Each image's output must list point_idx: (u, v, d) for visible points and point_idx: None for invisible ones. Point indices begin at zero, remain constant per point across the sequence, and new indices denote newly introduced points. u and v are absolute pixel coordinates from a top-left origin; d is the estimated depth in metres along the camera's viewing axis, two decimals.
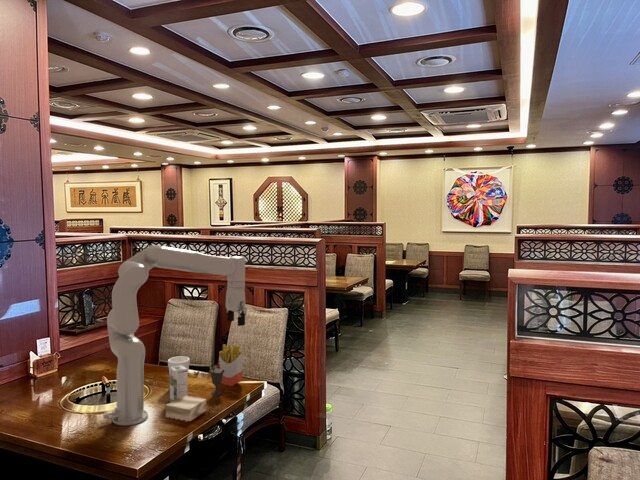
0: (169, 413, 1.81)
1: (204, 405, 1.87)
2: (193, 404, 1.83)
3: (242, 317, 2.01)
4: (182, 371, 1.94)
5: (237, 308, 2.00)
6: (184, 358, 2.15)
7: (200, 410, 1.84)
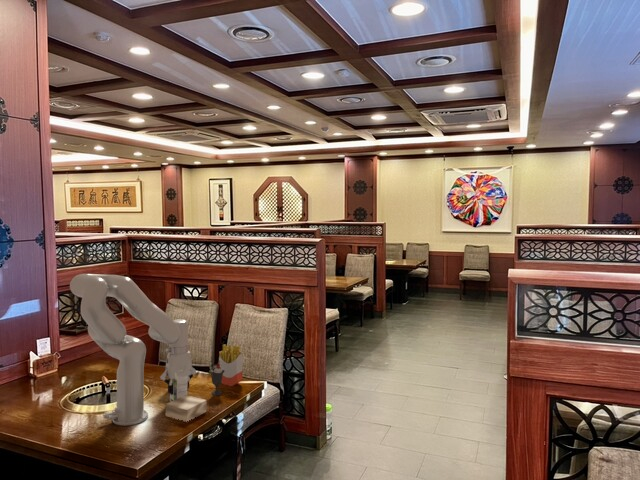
0: (169, 412, 1.82)
1: (204, 406, 1.86)
2: (193, 404, 1.82)
3: None
4: None
5: None
6: None
7: (199, 410, 1.84)
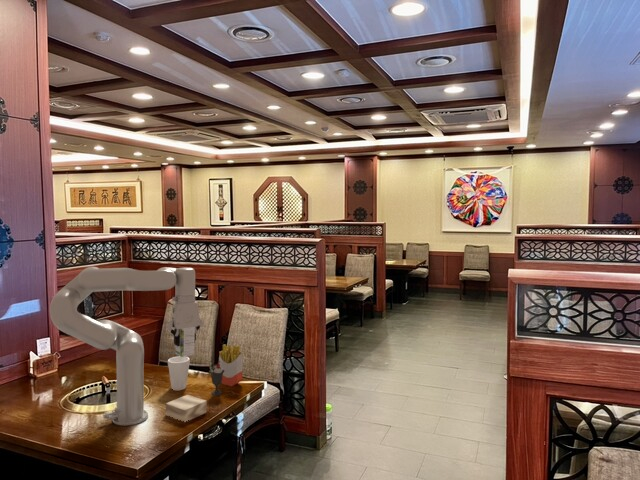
0: (169, 411, 1.82)
1: (204, 407, 1.85)
2: (192, 404, 1.82)
3: None
4: None
5: None
6: (184, 358, 2.15)
7: (198, 411, 1.83)
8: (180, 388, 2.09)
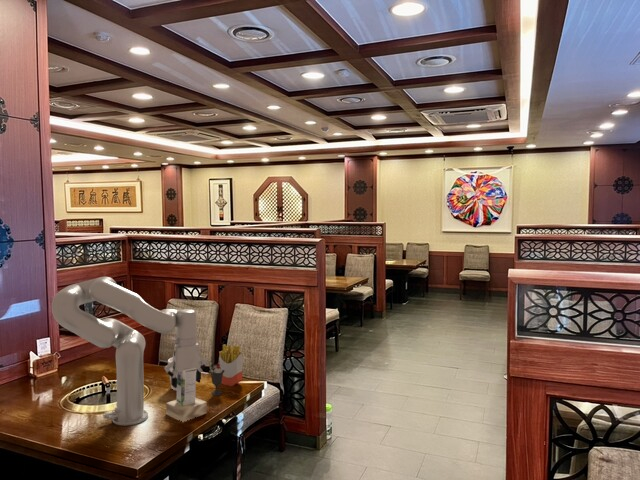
0: (169, 411, 1.83)
1: (204, 408, 1.85)
2: (191, 405, 1.82)
3: None
4: (190, 370, 1.82)
5: None
6: None
7: (198, 412, 1.82)
8: None
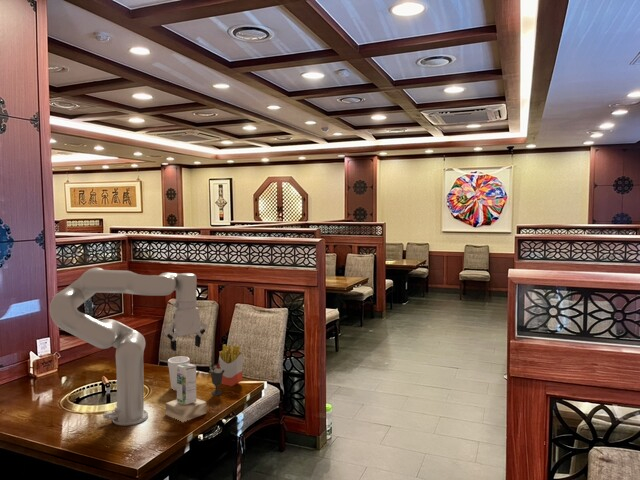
0: (168, 411, 1.83)
1: (203, 408, 1.85)
2: (191, 405, 1.82)
3: None
4: (190, 367, 1.83)
5: None
6: (184, 358, 2.15)
7: (197, 412, 1.83)
8: None
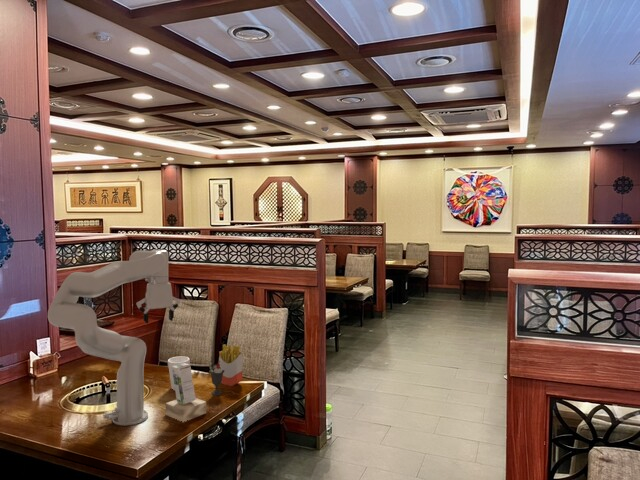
0: (168, 411, 1.82)
1: (203, 407, 1.85)
2: (191, 405, 1.82)
3: None
4: (184, 367, 1.82)
5: None
6: (184, 358, 2.15)
7: (197, 412, 1.83)
8: None
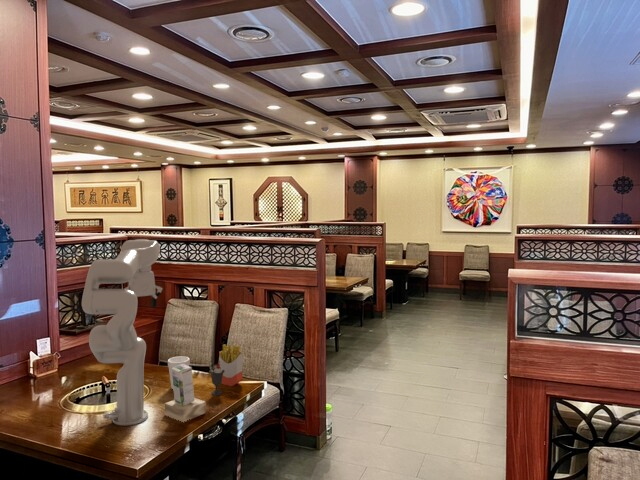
0: (167, 411, 1.82)
1: (203, 407, 1.85)
2: (190, 405, 1.82)
3: None
4: (186, 370, 1.80)
5: None
6: (184, 358, 2.15)
7: (197, 412, 1.83)
8: None
